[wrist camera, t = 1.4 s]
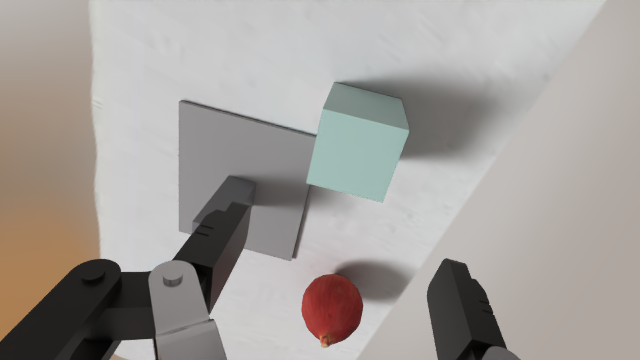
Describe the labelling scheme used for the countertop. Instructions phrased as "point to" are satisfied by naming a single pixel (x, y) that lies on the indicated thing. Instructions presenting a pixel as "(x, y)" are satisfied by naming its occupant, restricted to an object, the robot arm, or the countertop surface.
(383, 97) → the mint green square prism
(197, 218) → the post
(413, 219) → the countertop surface
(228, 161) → the mat
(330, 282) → the onion
